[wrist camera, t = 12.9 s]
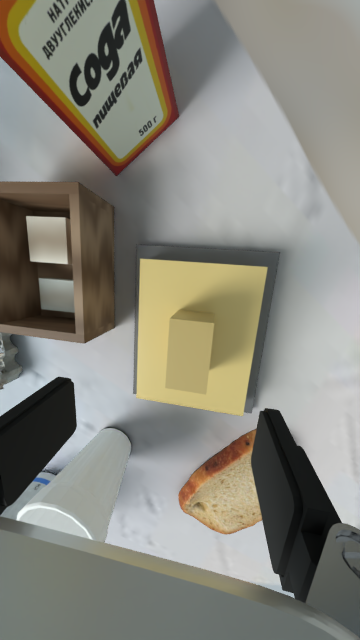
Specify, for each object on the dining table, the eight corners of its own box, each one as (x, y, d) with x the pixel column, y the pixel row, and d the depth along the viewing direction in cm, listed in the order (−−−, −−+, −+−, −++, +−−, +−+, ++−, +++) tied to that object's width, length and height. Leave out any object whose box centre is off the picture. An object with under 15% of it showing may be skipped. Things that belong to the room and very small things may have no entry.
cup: (155, 453, 33) (118, 565, 20) (111, 474, 35) (54, 585, 23) (118, 406, 32) (55, 491, 19) (76, 431, 34) (-3, 520, 22)
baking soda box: (145, 61, 22) (-21, -464, 6) (179, 116, 22) (100, -243, 7) (85, 127, 24) (-144, -136, 9) (116, 176, 25) (-46, 8, 9)
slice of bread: (289, 422, 28) (300, 444, 25) (295, 522, 32) (306, 554, 28) (167, 425, 32) (161, 444, 28) (184, 514, 35) (181, 542, 31)
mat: (139, 245, 26) (136, 244, 25) (277, 253, 24) (279, 252, 23) (135, 389, 31) (133, 393, 30) (250, 408, 28) (251, 413, 27)
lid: (148, 260, 25) (119, 253, 17) (260, 268, 23) (284, 264, 16) (144, 385, 29) (118, 425, 21) (239, 401, 27) (250, 450, 19)
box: (31, 205, 27) (-29, 181, 20) (114, 207, 25) (78, 182, 19) (41, 319, 31) (-7, 331, 24) (114, 327, 29) (84, 343, 22)
